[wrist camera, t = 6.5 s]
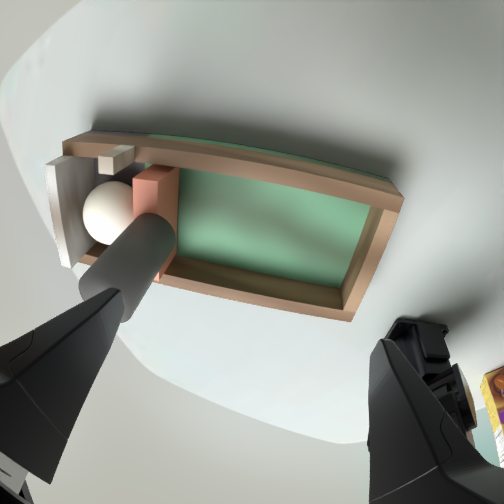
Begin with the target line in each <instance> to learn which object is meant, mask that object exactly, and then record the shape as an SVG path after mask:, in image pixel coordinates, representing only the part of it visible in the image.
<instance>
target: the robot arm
mask: <svg viewBox="0 0 504 504" xmlns="http://www.w3.org/2000/svg"><path fill="white" fill-rule="evenodd" d="M124 311H125V305H124V300H123V295H122V291H121V290H120V289H117V288H113V287H110V288H108V289H106V290H104V291H102V292H100V293H98V294H97V295H95V296H93V297H91V298H89V299H87V300H86V301H84V302H82V303H80V304H78V305H76V306H75V307H73V308H71V309H69V310H67V311H66V312H64V313H62V314H60V315H58V316H56V317H55V318H53V319H51V320H49V321H48V322H46V323H44V324H42V325H40V326H39V327H37V328H35V330H32V331H30V332H28V333H26V334H24V335H23V336H21V337H19V338H17V339H15V340H13V341H11V342H9V343H7V344H5V345H3V346H1V347H0V504H34V503H33V500H32V497H31V495H30V492H29V489H28V486H27V483H26V480H25V478H26V476H27V474H28V472H30V473H32V474H33V475H35V476H36V477H38V478H40V479H41V480H43V481H45V482H46V483H48V484H51V482H52V480H53V477H54V474H55V471H56V469H57V466H58V464H59V461H60V458H61V456H62V453H63V451H64V448H65V446H66V444H67V441H68V438H69V436H70V433H71V431H72V429H73V426H74V424H75V422H76V420H77V417H78V415H79V413H80V410H81V408H82V406H83V404H84V402H85V399H86V397H87V395H88V393H89V391H90V388H91V387H92V384H93V382H94V380H95V378H96V376H97V374H98V372H99V370H100V368H101V366H102V364H103V362H104V360H105V358H106V356H107V354H108V352H109V350H110V348H111V345H112V343H113V340H114V337H115V335H116V332H117V330H118V327H119V325H120V322H121V320H122V317H123V315H124ZM399 324H400V325H399ZM448 331H449V329H448V327H447V326H446V325H439V324H432V323H425V322H418V321H411V320H404V319H399V320H397V321H395V323H394V324H393V326H392V328H391V329H390V331H389V333H388V334H387V336H386V337H385V339H380V340H379V341H378V343H377V345H376V346H375V348H374V350H373V352H372V353H371V356H370V368H369V391H368V405H369V433H368V441H367V446H368V451H369V452H370V488H369V502H370V503H369V504H504V468H501V467H497V466H494V465H492V464H490V463H489V462H487V461H486V460H485V459H484V458H483V457H482V456H481V455H480V453H479V452H478V451H477V450H476V449H475V445H474V440H473V435H472V431H471V430H472V429H474V428H476V427H477V420H476V413H475V407H474V401H473V398H472V395H471V392H470V389H469V386H468V383H467V381H466V379H465V377H464V375H463V373H462V371H461V369H460V367H459V365H458V363H456V364H454V365H453V366H452V367H451V365H450V362H449V358H450V354H449V351H448V348H447V346H446V343H445V340H444V337H445V336H446V334H447V333H448Z"/></svg>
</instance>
